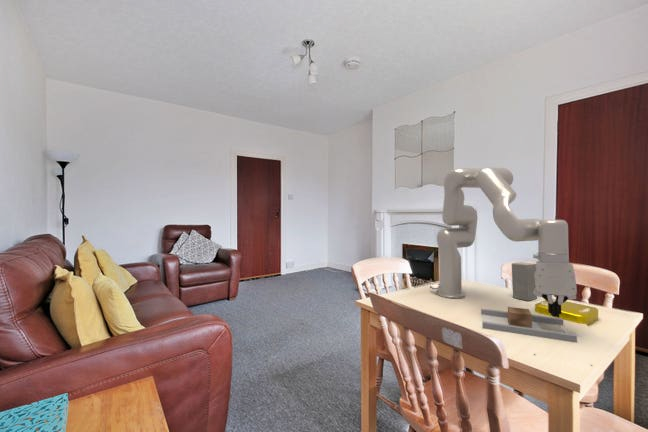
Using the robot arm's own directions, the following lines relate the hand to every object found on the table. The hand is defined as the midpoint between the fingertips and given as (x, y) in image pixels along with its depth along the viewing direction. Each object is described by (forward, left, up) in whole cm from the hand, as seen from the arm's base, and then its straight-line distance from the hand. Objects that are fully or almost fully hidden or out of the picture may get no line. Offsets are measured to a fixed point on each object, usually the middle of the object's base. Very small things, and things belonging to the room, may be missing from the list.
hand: (554, 315), depth 90 cm
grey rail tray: (-8, 0, -6) cm, 10 cm away
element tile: (+7, +20, -7) cm, 23 cm away
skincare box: (-2, +40, -6) cm, 41 cm away
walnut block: (-9, 0, -5) cm, 11 cm away
